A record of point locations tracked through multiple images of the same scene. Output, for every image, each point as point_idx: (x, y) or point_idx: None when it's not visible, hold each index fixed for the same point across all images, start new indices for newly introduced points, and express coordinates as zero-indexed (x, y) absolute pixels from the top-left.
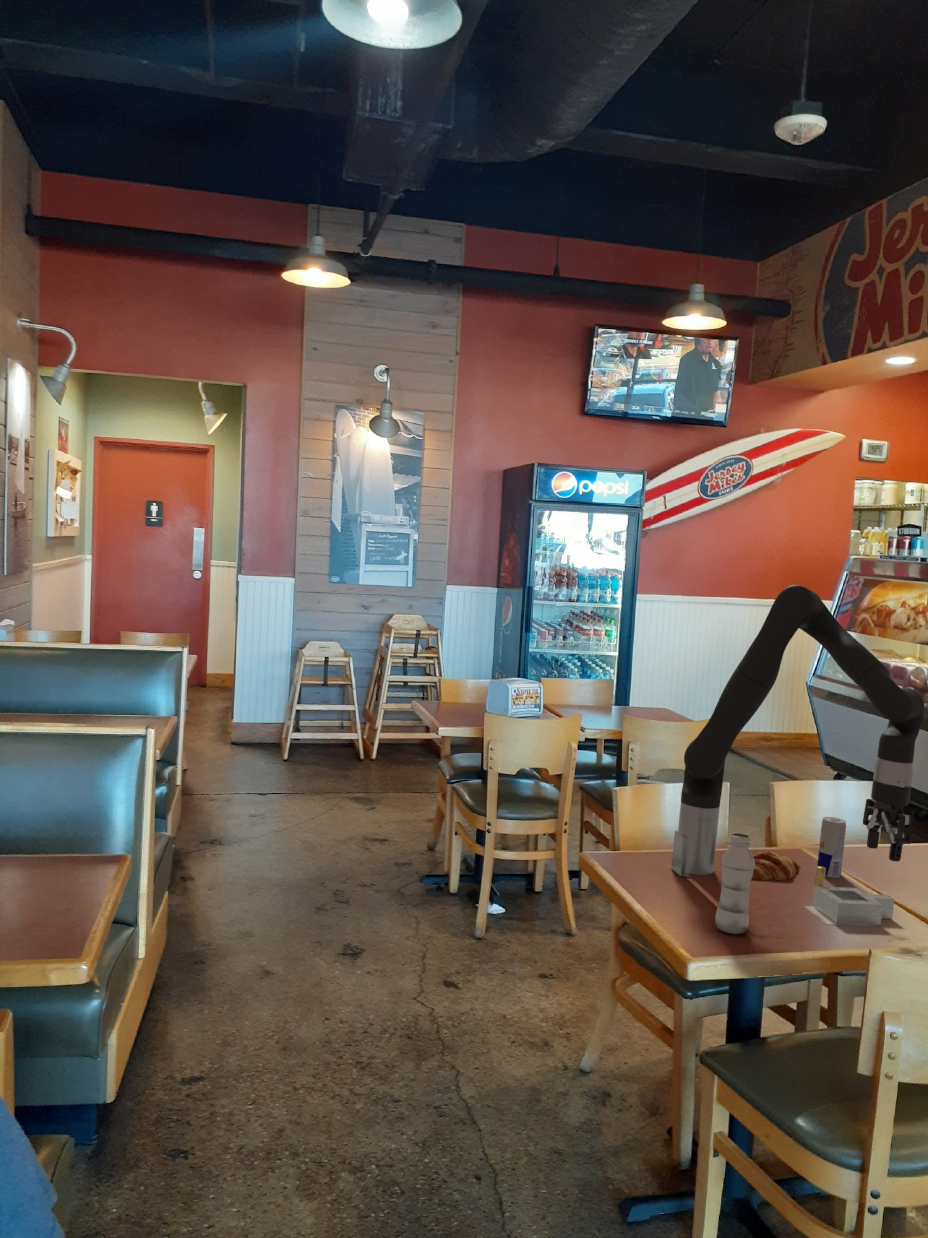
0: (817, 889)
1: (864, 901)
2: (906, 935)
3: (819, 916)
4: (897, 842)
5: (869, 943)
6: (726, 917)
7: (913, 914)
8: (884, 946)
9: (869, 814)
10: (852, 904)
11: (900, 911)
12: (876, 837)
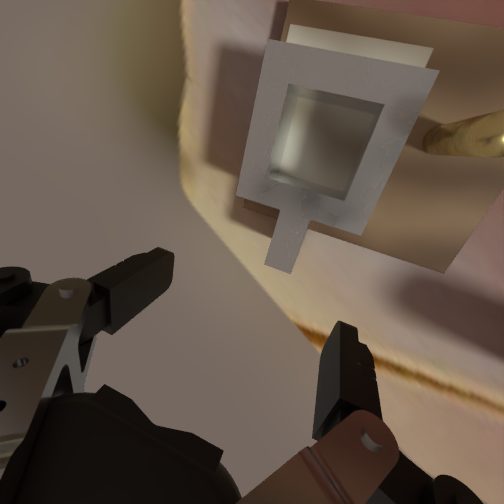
0: (415, 67)
1: (263, 158)
2: (233, 226)
3: (341, 44)
4: (25, 271)
5: (210, 102)
6: None
7: (311, 333)
8: (195, 127)
9: None
10: (256, 97)
11: (331, 325)
12: (320, 392)
